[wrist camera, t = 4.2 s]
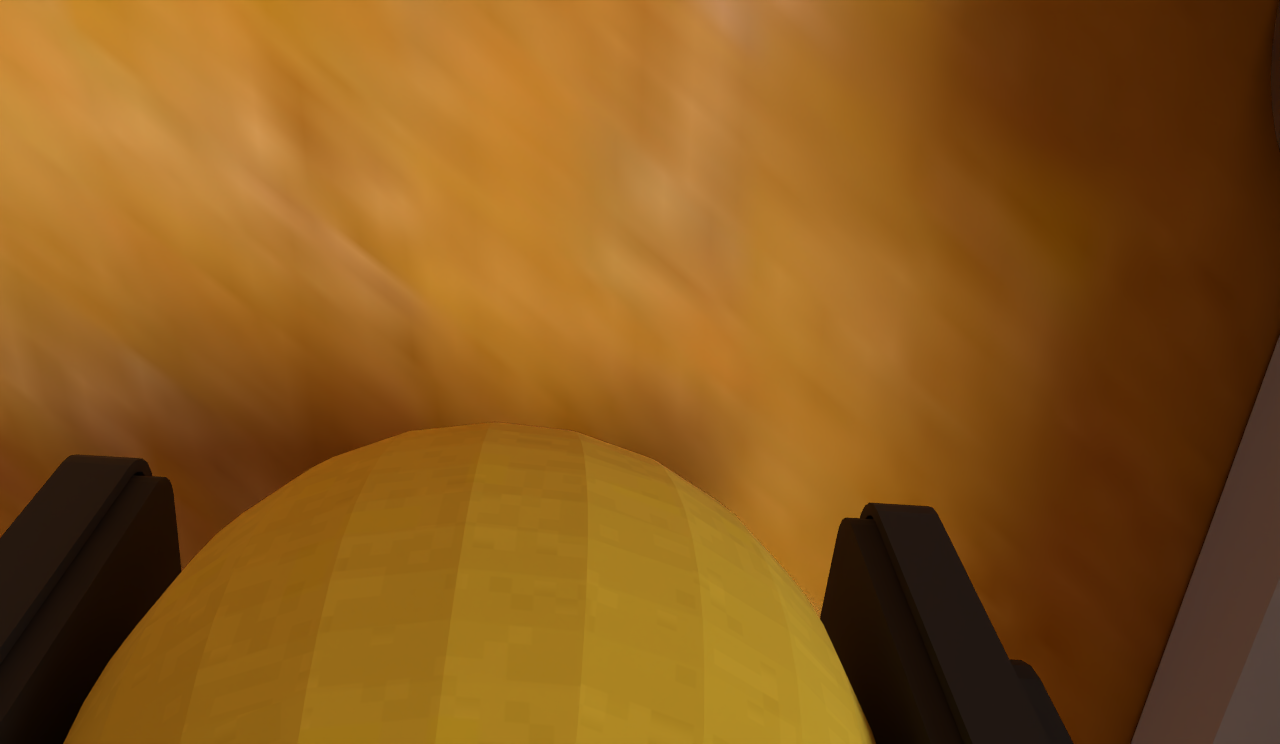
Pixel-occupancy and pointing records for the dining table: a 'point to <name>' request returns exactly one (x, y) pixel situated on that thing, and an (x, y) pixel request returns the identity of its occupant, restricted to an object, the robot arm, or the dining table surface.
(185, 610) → the lemon
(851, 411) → the dining table surface
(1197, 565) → the chassis
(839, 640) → the robot arm
